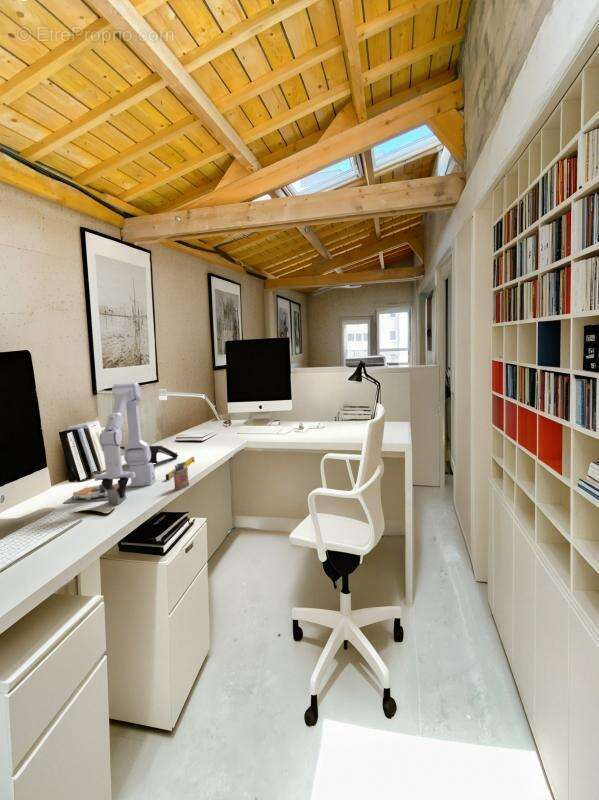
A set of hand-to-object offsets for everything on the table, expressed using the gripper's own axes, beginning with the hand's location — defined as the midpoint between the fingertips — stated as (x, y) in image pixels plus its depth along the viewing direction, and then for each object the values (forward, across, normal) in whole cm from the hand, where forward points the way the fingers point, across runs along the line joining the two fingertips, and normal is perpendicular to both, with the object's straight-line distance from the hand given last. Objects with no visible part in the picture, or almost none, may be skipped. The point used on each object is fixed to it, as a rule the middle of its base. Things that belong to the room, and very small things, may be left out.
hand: (117, 497), depth 172 cm
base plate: (+2, -13, +12) cm, 18 cm away
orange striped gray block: (+2, 0, 0) cm, 2 cm away
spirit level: (+2, +14, +43) cm, 45 cm away
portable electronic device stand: (+2, -6, +67) cm, 67 cm away
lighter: (+2, +21, +14) cm, 25 cm away
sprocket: (+2, -13, +12) cm, 18 cm away
